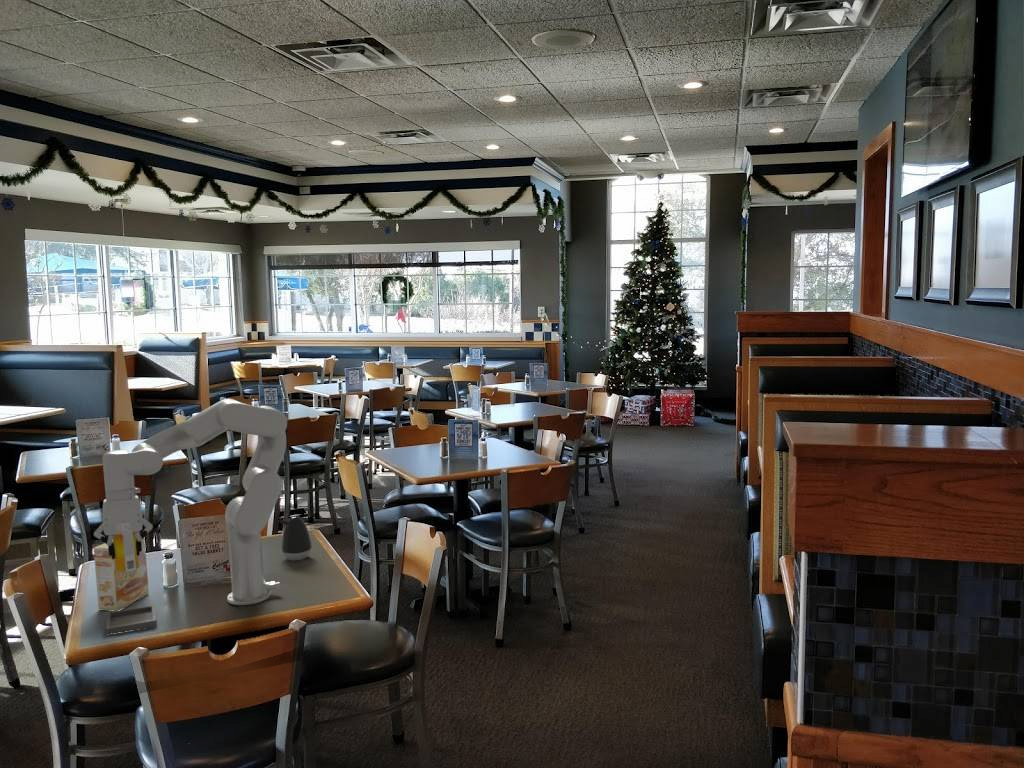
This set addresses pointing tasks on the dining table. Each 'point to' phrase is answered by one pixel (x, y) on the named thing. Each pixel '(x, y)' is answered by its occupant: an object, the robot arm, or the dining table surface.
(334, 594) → the dining table surface
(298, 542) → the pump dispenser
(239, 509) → the robot arm
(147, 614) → the tray
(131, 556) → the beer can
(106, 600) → the coffeecake box
